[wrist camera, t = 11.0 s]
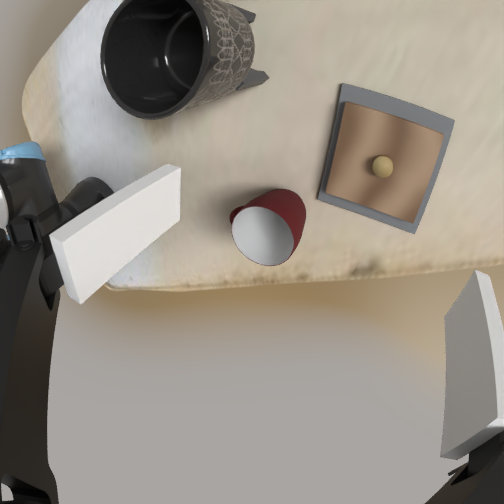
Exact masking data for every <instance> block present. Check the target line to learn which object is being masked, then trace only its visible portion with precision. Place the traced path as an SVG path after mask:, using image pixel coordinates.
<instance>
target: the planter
mask: <svg viewBox="0 0 504 504" xmlns="http://www.w3.org/2000/svg"><path fill="white" fill-rule="evenodd" d="M255 16H256V14H254V13H252V12H249V11H247V10H244V9H242V8H239V7H237V6H234V5H231V4H229V3H225V2H222V1H220V0H125V1H123V2H122V3H121V4H120V6H119V7H118V8H117V9H116V10H115V12H114V13H113V15H112V17H111V18H110V20H109V22H108V24H107V27H106V29H105V32H104V35H103V39H102V44H101V54H100V58H101V69H102V75H103V78H104V82H105V84H106V87H107V89H108V91H109V93H110V94H111V96H112V98H113V99H114V100H115V102H116V103H117V104H118V105H119V106H120V107H121V108H122V109H123V110H125V111H126V112H128V113H129V114H131V115H133V116H136V117H138V118H142V119H151V120H155V119H161V118H165V117H168V116H171V115H173V114H176V113H178V112H181V111H184V110H187V109H189V108H192V107H195V106H198V105H201V104H204V103H206V102H209V101H212V100H216V99H219V98H221V97H223V96H225V95H227V94H229V93H230V92H232V91H233V90H234V89H236V90H239V89H243V88H247V87H251V86H255V85H259V84H263V83H264V82H265V81H266V80H267V79H269V77H268V76H267V74H266V73H265V72H263V71H257V70H254V69H251V65H252V62H253V58H254V51H255V43H254V36H253V32H252V29H251V27H250V25H249V23H248V22H253V21H254V19H255Z"/></svg>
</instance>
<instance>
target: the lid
mask: <svg viewBox="0 0 504 504" xmlns="http://www.w3.org/2000/svg"><path fill="white" fill-rule="evenodd" d="M443 138H444V134H443V133H441V132H439V131H436V130H434V129H431V128H428V127H426V126H423V125H421V124H418V123H415V122H412V121H410V120H407V119H404V118H401V117H398V116H395V115H392V114H389V113H386V112H383V111H380V110H377V109H373V108H370V107H367V106H363V105H360V104H356V103H353V102H349V101H346V102H345V107H344V112H343V117H342V122H341V126H340V131H339V136H338V140H337V145H336V149H335V154H334V158H333V162H332V167H331V171H330V175H329V179H328V184H327V188H326V192H325V193H328V194H331V195H334V196H337V197H340V198H343V199H346V200H349V201H352V202H355V203H358V204H361V205H363V206H366V207H369V208H372V209H375V210H377V211H380V212H383V213H386V214H388V215H391V216H394V217H397V218H399V219H402V220H405V221H407V222H410V223H412V224H413V223H414V220H415V218H416V215H417V213H418V210H419V208H420V205H421V203H422V200H423V197H424V195H425V192H426V189H427V186H428V184H429V181H430V178H431V175H432V172H433V169H434V166H435V163H436V160H437V157H438V154H439V151H440V148H441V145H442V141H443Z"/></svg>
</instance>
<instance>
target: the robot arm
mask: <svg viewBox="0 0 504 504" xmlns="http://www.w3.org/2000/svg"><path fill="white" fill-rule="evenodd" d="M45 162H46V160H45V158H44V157H43V154H42V151H41V148H40V146H39V144H38V143H36V142H33V141H31V142H25V143H21V144H17V145H14V146H11V147H9V148H6V149H3V150H0V504H59V502H58V493H57V485H56V481H55V478H54V475H53V473H52V471H51V469H50V467H49V464H48V455H47V409H48V389H49V375H50V364H51V354H52V346H53V339H54V331H55V325H56V318H57V312H58V307H59V301H60V290H59V288H60V287H61V286H62V285H65V288H66V291H67V294H68V296H69V297H71V298H72V299H74V300H75V301H77V302H78V303H80V304H82V303H83V302H84V301H85V300H86V299H87V298H89V297H90V296H91V295H92V294H93V293H94V292H95V291H96V290H97V289H98V288H100V287H101V286H102V285H103V284H104V283H105V282H106V281H108V280H109V279H110V278H111V277H112V276H113V275H114V274H116V273H117V272H118V271H119V270H120V269H121V268H122V267H124V266H125V265H126V264H127V263H128V262H129V261H131V260H132V259H133V258H134V257H135V256H137V255H138V254H139V253H140V252H141V251H142V250H144V249H145V248H146V247H147V246H148V245H150V244H151V243H152V242H153V241H155V240H156V239H157V238H158V237H159V236H161V235H162V234H163V233H164V232H166V231H167V230H168V229H169V228H170V227H172V226H173V225H174V224H175V223H177V222H178V221H179V220H180V175H181V167H177V166H174V165H170V164H166V165H164V166H162V167H160V168H158V169H156V170H154V171H153V172H151V173H149V174H147V175H145V176H144V177H142V178H140V179H138V180H136V181H135V182H133V183H131V184H129V185H128V186H126V187H124V188H122V189H121V190H119V191H117V192H116V193H113V191H112V190H111V189H110V187H109V186H108V185H107V184H106V183H104V182H103V181H102V180H100V179H98V178H95V177H89V178H87V179H85V180H83V181H81V182H80V183H78V184H77V185H76V187H75V188H74V189H73V190H72V191H71V192H70V193H69V194H68V196H67V197H66V198H65V199H64V200H63V201H62V202H60V203H59V204H58V201H57V198H56V195H55V193H54V190H53V187H52V183H51V180H50V177H49V174H48V171H47V168H46V164H45ZM5 227H6V229H7V232H8V235H6V232H5V230H4V229H3V228H5ZM444 320H445V340H446V390H445V410H444V425H443V435H442V444H441V452H440V457H444V458H449V459H455V460H458V459H460V458H462V457H463V456H465V455H467V454H468V453H469V461H468V462H467V463H465V464H464V465H462V466H460V467H458V468H456V469H454V470H452V471H451V472H450V473H448V475H449V476H450V475H452V474H454V473H455V474H454V475H453V476H452V477H451V478H450V480H449V481H448V482H447V483H446V484H445V485H444V486H443V487H442V488H441V489H440V490H439V491H438V492H437V493H436V494H435V495H434V496H432V497H431V498H430V499H429V500H428V501H427V502H426V503H425V504H504V331H503V327H502V322H501V318H500V314H499V310H498V306H497V302H496V298H495V295H494V291H493V287H492V284H491V280H490V277H489V275H486V274H484V273H482V272H480V271H477V270H475V271H474V272H473V274H472V276H471V277H470V279H469V281H468V282H467V284H466V285H465V287H464V288H463V290H462V292H461V293H460V295H459V296H458V298H457V299H456V301H455V302H454V304H453V305H452V307H451V308H450V310H449V311H448V313H447V314H446V316H445V318H444ZM1 483H3V484H5V485H7V486H8V487H9V488H10V489H11V491H12V494H13V498H14V500H13V501H2V495H1Z"/></svg>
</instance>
